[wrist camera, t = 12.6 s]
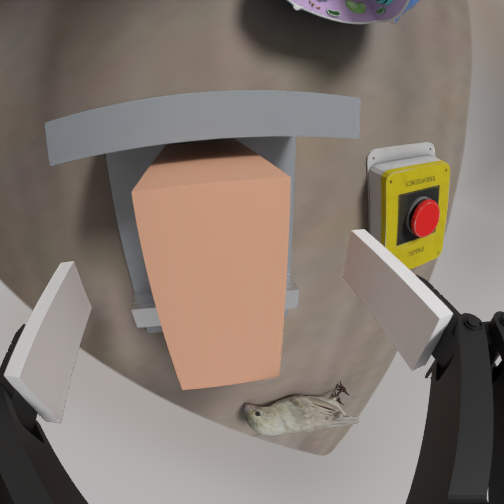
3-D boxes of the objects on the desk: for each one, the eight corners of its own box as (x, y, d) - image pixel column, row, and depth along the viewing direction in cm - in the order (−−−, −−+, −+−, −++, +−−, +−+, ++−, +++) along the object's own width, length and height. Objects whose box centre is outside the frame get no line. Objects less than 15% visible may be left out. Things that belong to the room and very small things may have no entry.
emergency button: (460, 149, 20) (445, 276, 28) (430, 140, 24) (423, 258, 31) (391, 159, 19) (385, 304, 27) (362, 149, 23) (365, 281, 31)
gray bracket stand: (106, 114, 17) (44, 122, 9) (290, 99, 19) (360, 98, 11) (148, 325, 27) (142, 409, 18) (284, 308, 29) (318, 384, 20)
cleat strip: (134, 292, 23) (131, 309, 21) (290, 274, 26) (299, 289, 24) (140, 310, 24) (137, 327, 22) (289, 291, 27) (297, 307, 25)
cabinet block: (165, 145, 18) (131, 192, 8) (235, 139, 19) (290, 177, 9) (182, 276, 24) (185, 398, 13) (240, 269, 24) (278, 384, 14)
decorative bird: (244, 392, 36) (255, 438, 29) (346, 376, 39) (365, 413, 33) (241, 411, 38) (251, 452, 32) (335, 395, 42) (352, 430, 36)
